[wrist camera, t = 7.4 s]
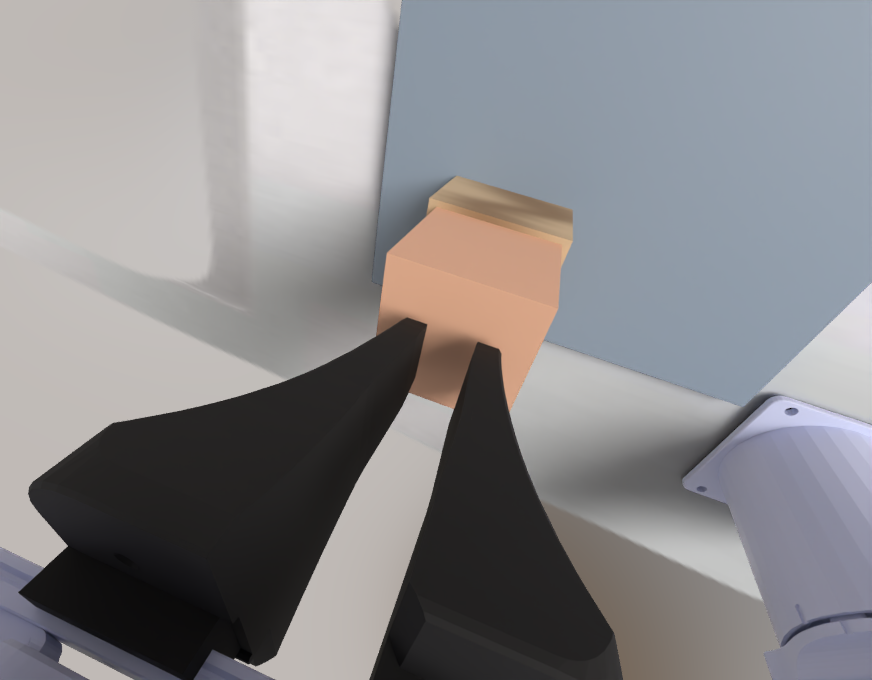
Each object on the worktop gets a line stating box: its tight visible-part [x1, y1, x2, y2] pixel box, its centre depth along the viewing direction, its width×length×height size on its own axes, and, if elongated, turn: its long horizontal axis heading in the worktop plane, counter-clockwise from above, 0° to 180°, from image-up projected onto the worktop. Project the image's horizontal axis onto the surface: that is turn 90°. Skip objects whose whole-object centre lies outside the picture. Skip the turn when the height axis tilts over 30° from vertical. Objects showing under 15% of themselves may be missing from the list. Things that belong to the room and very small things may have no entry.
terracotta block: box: [376, 207, 562, 412], centre depth 13 cm, size 5×5×5 cm
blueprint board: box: [372, 0, 872, 407], centre depth 15 cm, size 20×16×1 cm
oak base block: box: [426, 176, 573, 267], centre depth 16 cm, size 5×5×4 cm
